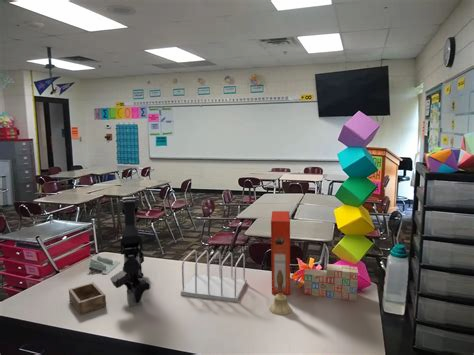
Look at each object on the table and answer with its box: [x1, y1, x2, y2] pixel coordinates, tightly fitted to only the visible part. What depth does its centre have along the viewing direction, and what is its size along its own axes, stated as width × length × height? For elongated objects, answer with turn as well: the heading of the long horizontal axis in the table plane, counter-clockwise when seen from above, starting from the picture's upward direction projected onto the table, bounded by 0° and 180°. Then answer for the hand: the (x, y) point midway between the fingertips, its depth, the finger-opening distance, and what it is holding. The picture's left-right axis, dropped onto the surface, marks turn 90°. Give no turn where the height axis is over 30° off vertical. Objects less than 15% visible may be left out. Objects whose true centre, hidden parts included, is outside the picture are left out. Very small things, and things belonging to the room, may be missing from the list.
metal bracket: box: [86, 255, 122, 275], centre depth 177 cm, size 14×6×15 cm
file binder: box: [270, 210, 291, 296], centre depth 152 cm, size 8×17×32 cm, turn 172°
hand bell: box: [269, 270, 292, 316], centre depth 133 cm, size 8×8×16 cm
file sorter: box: [180, 249, 248, 303], centre depth 150 cm, size 25×17×16 cm
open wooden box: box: [68, 281, 107, 316], centre depth 140 cm, size 10×15×5 cm, turn 39°
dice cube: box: [126, 289, 143, 308], centre depth 140 cm, size 5×5×5 cm
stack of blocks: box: [303, 263, 359, 302], centre depth 144 cm, size 21×6×12 cm, turn 74°
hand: (134, 300), depth 141 cm, fingers closed on dice cube, 5 cm apart
